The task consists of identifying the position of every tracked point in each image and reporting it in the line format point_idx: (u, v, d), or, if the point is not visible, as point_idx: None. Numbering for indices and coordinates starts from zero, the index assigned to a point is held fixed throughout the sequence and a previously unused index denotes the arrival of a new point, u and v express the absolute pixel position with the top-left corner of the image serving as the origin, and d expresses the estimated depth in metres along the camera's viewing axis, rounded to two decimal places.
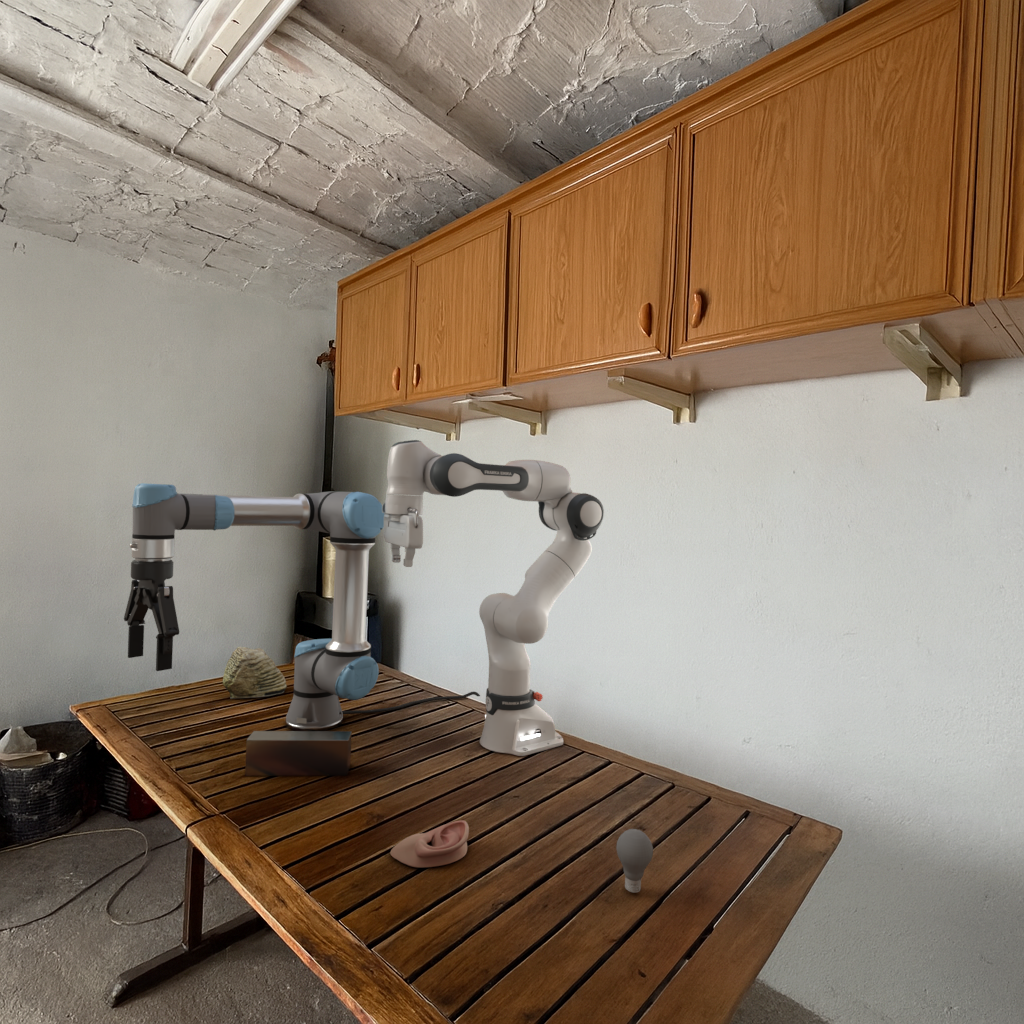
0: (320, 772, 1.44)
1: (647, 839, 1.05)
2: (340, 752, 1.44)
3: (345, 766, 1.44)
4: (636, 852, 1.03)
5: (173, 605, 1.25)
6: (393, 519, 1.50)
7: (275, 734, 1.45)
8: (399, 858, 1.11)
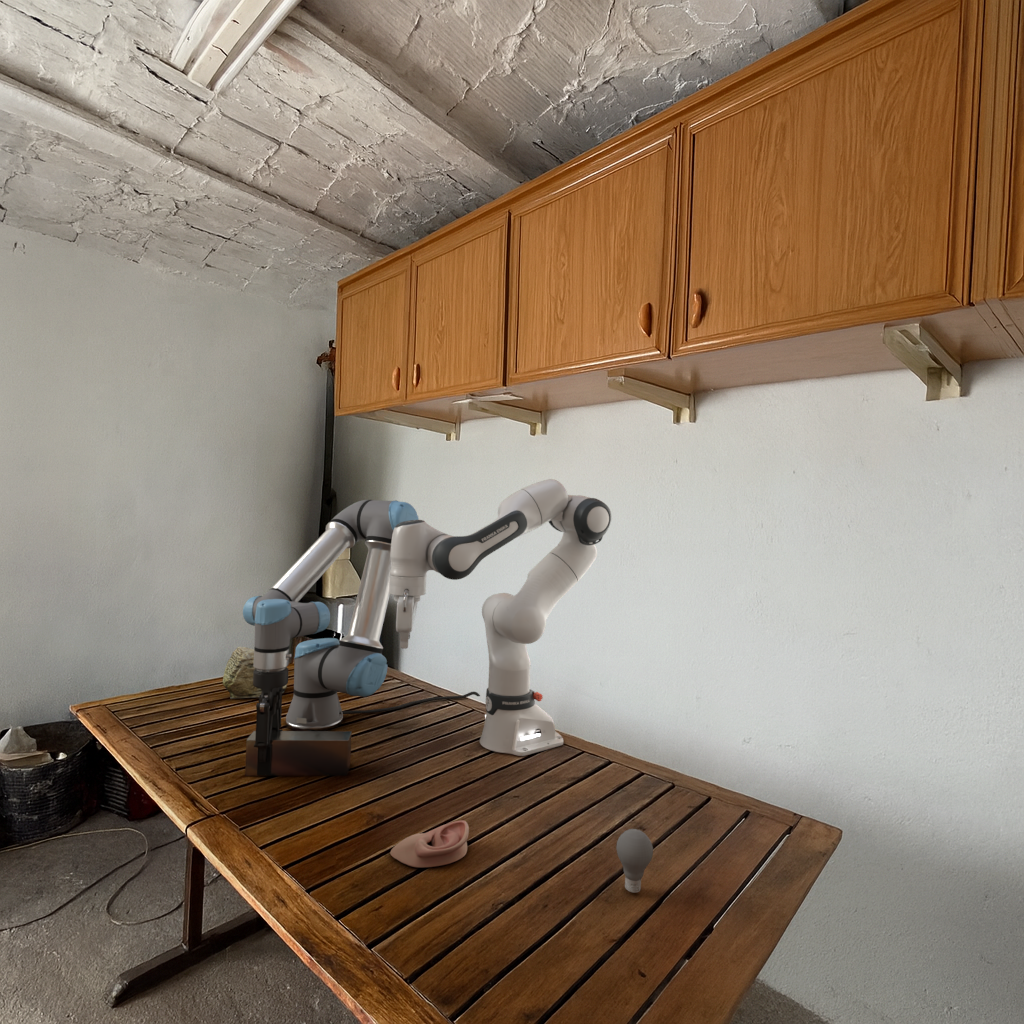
0: (320, 772, 1.44)
1: (647, 839, 1.05)
2: (340, 752, 1.44)
3: (345, 766, 1.44)
4: (636, 852, 1.03)
5: None
6: (394, 599, 1.52)
7: (275, 734, 1.45)
8: (399, 858, 1.11)
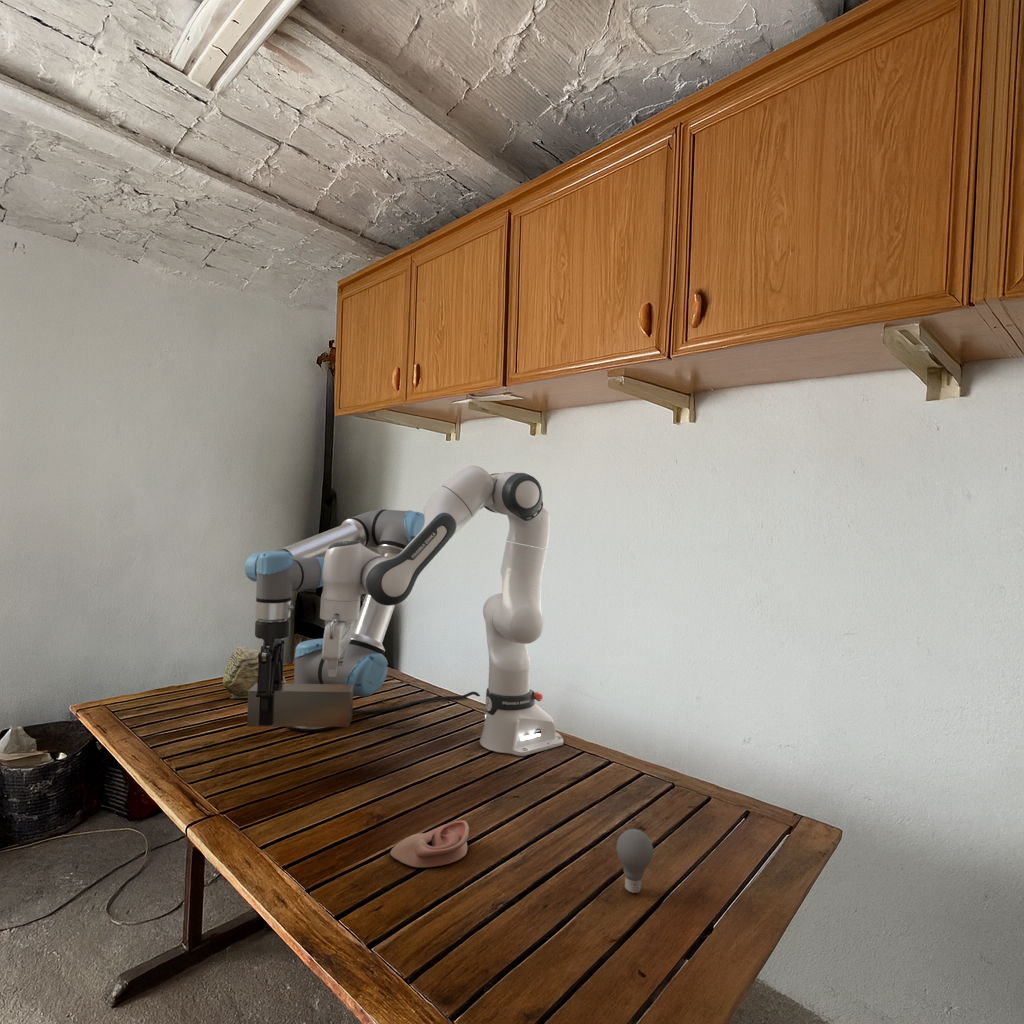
0: (322, 723, 1.44)
1: (647, 839, 1.05)
2: (342, 704, 1.44)
3: (347, 717, 1.44)
4: (636, 852, 1.03)
5: None
6: (325, 624, 1.45)
7: (277, 686, 1.45)
8: (399, 858, 1.11)
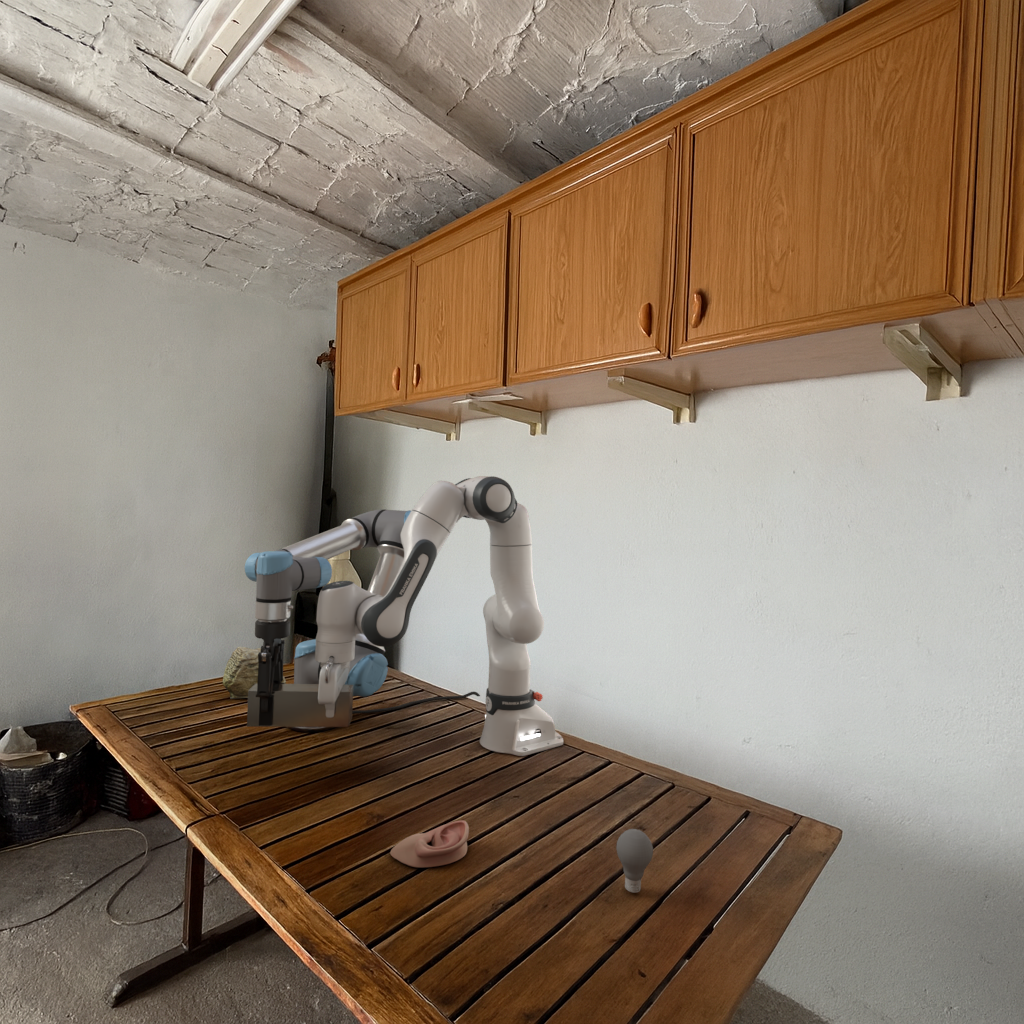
0: (321, 723, 1.44)
1: (647, 839, 1.05)
2: (342, 704, 1.44)
3: (347, 718, 1.44)
4: (636, 852, 1.03)
5: None
6: (320, 665, 1.45)
7: (277, 686, 1.45)
8: (399, 858, 1.11)
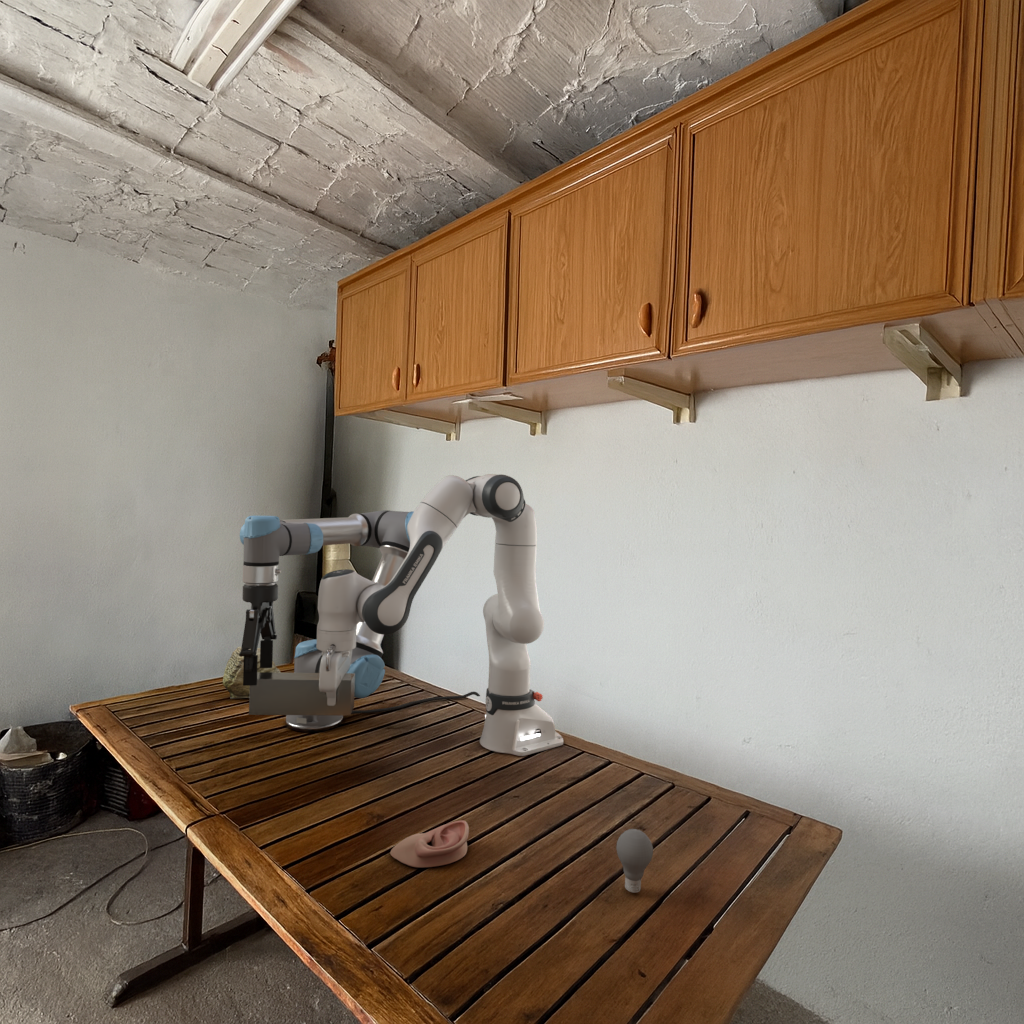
0: (323, 712, 1.43)
1: (647, 839, 1.05)
2: (343, 692, 1.44)
3: (348, 706, 1.44)
4: (636, 852, 1.03)
5: None
6: (322, 654, 1.45)
7: (279, 675, 1.45)
8: (399, 858, 1.11)
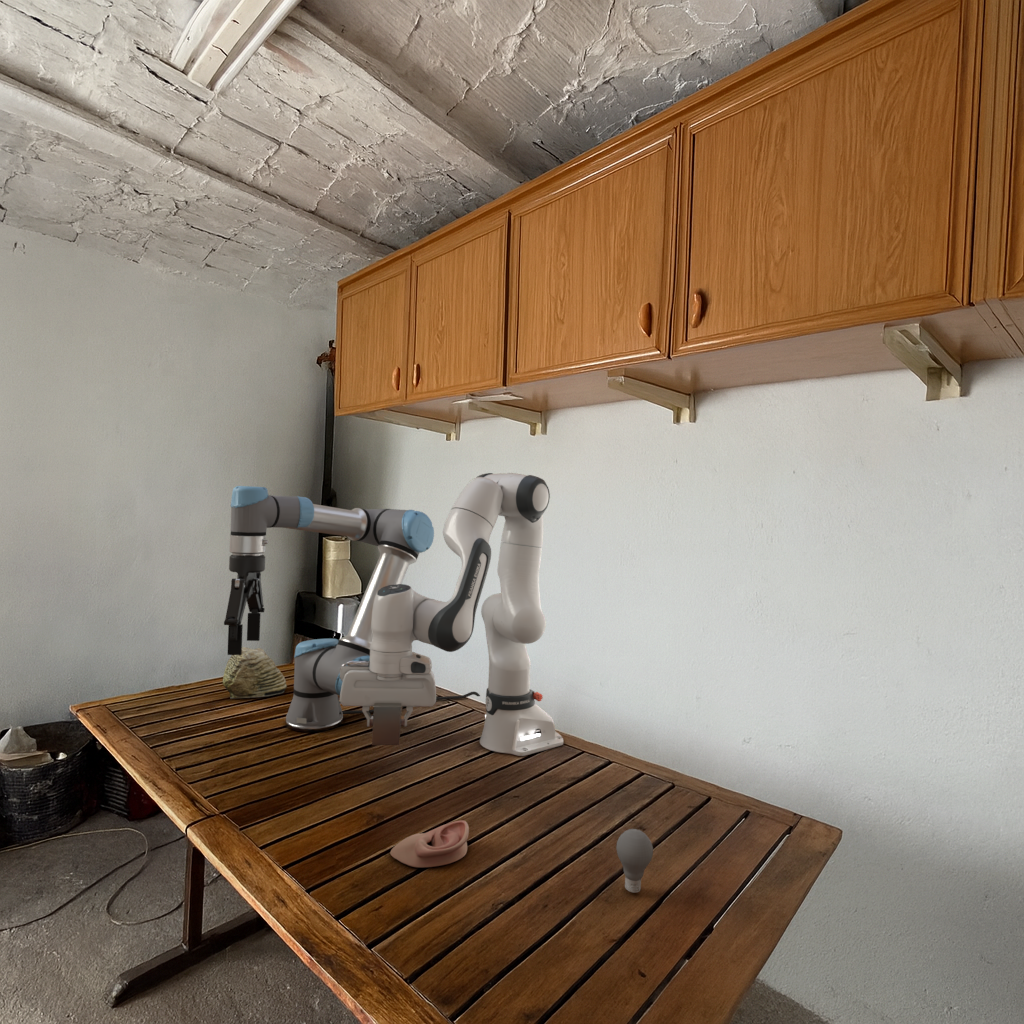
0: None
1: (647, 839, 1.05)
2: None
3: (372, 734, 1.31)
4: (636, 852, 1.03)
5: None
6: None
7: None
8: (399, 858, 1.11)
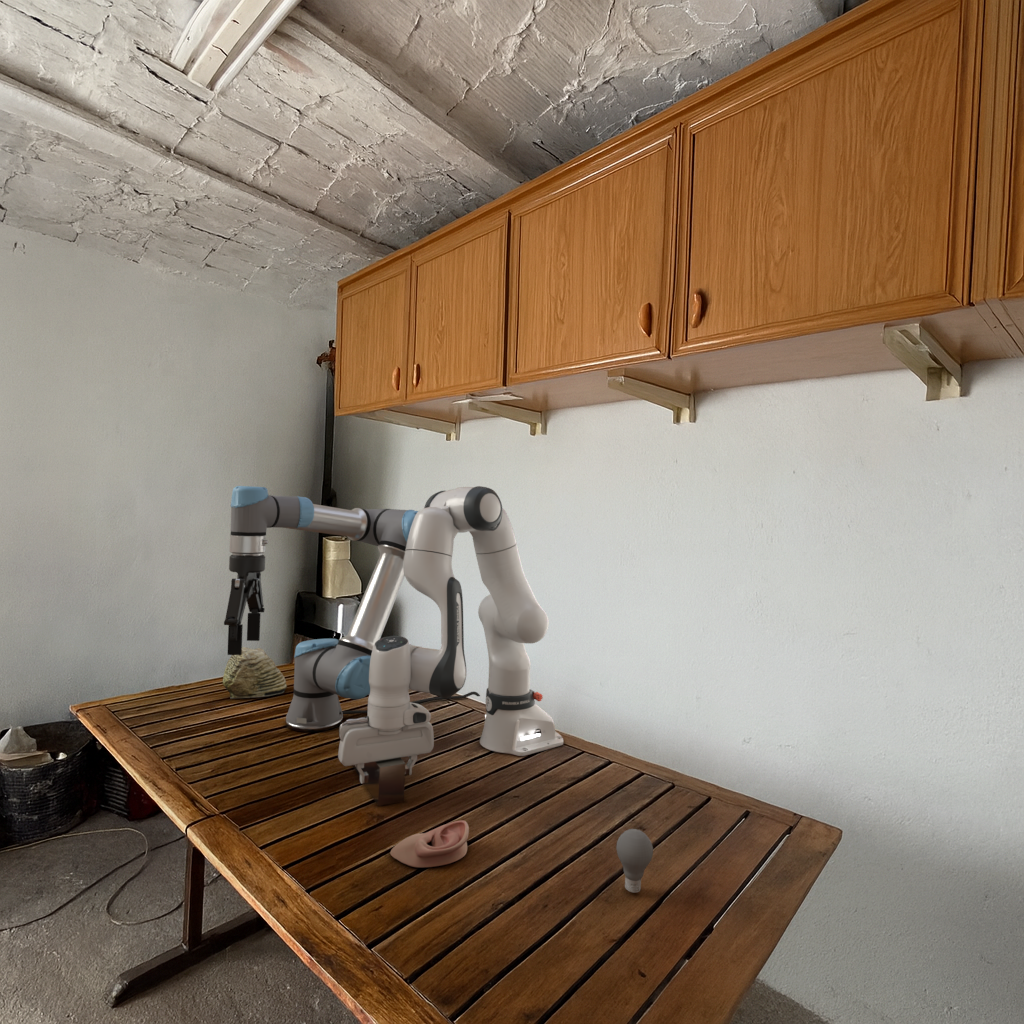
0: (370, 790, 1.36)
1: (647, 839, 1.05)
2: (376, 778, 1.32)
3: (377, 795, 1.31)
4: (636, 852, 1.03)
5: None
6: None
7: None
8: (399, 858, 1.11)
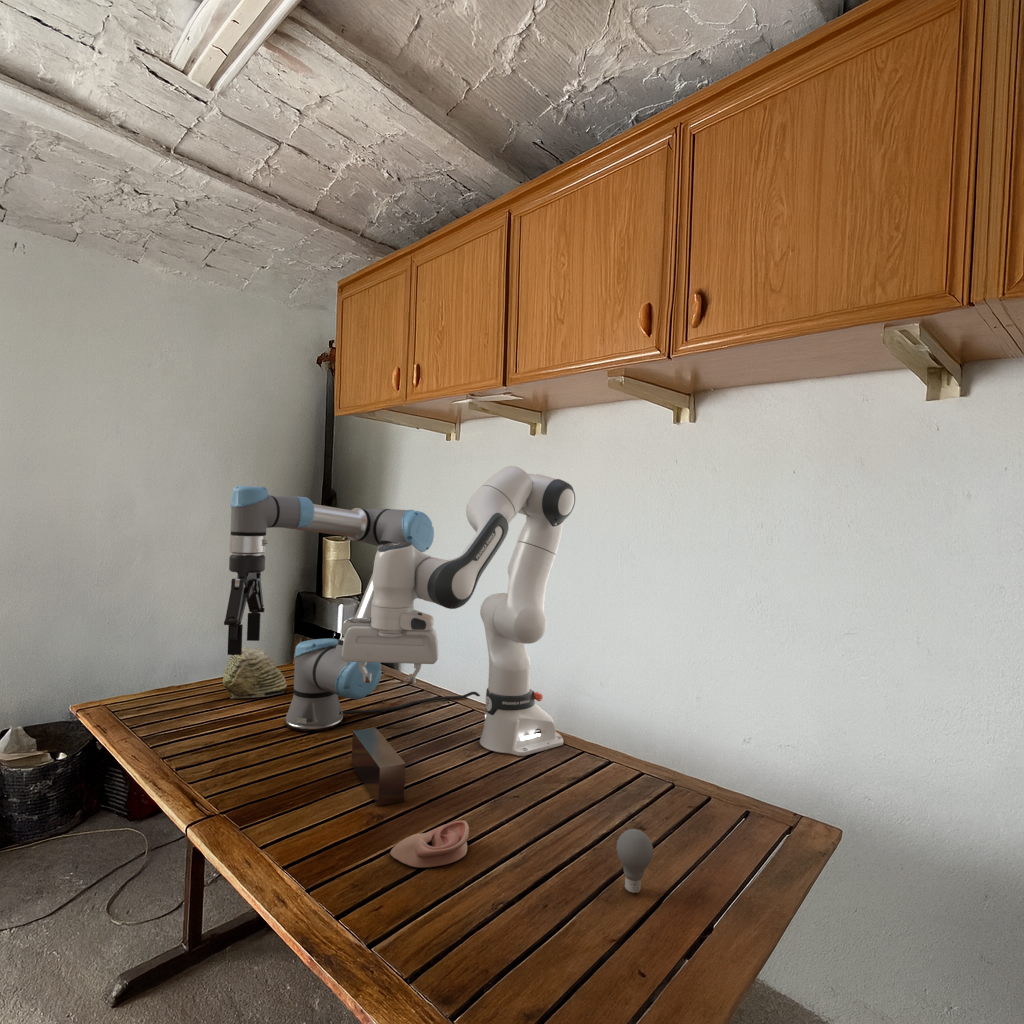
0: (370, 790, 1.36)
1: (647, 839, 1.05)
2: (376, 778, 1.32)
3: (377, 795, 1.31)
4: (636, 852, 1.03)
5: None
6: None
7: (372, 737, 1.47)
8: (399, 858, 1.11)
